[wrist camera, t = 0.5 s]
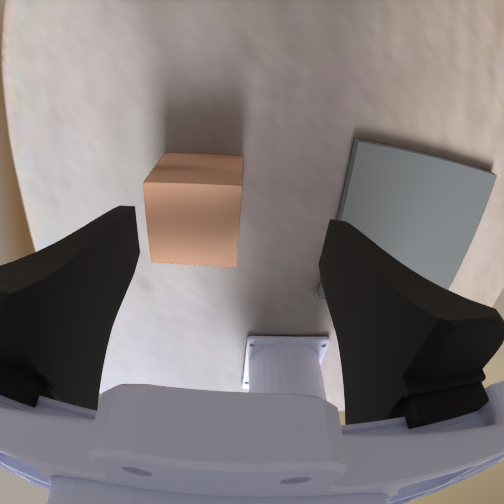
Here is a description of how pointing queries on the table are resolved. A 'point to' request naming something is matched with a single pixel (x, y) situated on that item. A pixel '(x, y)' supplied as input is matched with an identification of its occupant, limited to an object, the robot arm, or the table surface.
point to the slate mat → (415, 206)
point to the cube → (194, 209)
